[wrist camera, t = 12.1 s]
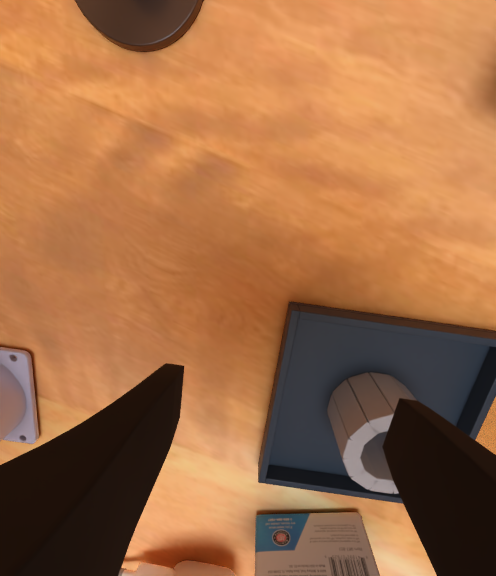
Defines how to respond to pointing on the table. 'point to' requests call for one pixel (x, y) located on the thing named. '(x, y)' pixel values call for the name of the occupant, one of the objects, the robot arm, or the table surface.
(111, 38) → the spindle stand
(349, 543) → the ink box
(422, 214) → the table surface
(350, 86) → the table surface
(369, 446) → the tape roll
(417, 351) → the tray
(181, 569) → the power adapter
